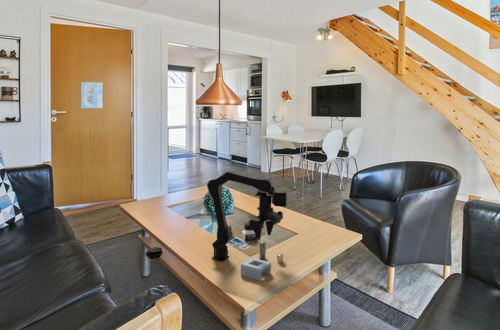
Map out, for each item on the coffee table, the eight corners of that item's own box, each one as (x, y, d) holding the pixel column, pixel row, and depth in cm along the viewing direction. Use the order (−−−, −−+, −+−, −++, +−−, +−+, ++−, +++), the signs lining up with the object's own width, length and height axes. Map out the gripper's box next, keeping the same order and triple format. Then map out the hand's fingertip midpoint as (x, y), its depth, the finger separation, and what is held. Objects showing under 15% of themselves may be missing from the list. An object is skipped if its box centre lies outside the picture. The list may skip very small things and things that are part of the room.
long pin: (258, 261, 148) (258, 243, 148) (261, 259, 151) (261, 241, 150) (263, 262, 147) (263, 244, 146) (266, 260, 149) (266, 242, 148)
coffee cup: (166, 271, 157) (166, 247, 157) (159, 278, 149) (158, 252, 148) (151, 270, 159) (150, 246, 158) (143, 277, 151) (142, 251, 150)
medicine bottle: (245, 246, 169) (245, 225, 169) (241, 242, 176) (242, 222, 175) (257, 245, 171) (257, 224, 170) (253, 241, 178) (253, 221, 177)
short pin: (275, 264, 144) (276, 255, 144) (278, 262, 147) (278, 253, 147) (281, 265, 143) (281, 256, 143) (284, 263, 145) (284, 254, 145)
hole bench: (240, 275, 132) (240, 264, 132) (251, 268, 140) (251, 257, 139) (260, 280, 127) (260, 269, 126) (270, 273, 134) (270, 262, 134)
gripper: (269, 211, 131) (268, 246, 132) (289, 204, 146) (288, 236, 147) (248, 207, 137) (247, 241, 138) (269, 201, 152) (268, 232, 154)
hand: (264, 237), depth 144 cm, fingers open, 9 cm apart
